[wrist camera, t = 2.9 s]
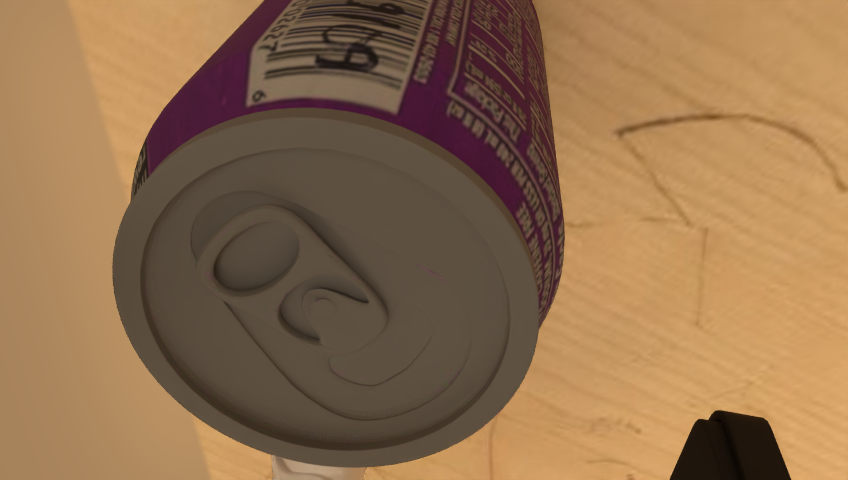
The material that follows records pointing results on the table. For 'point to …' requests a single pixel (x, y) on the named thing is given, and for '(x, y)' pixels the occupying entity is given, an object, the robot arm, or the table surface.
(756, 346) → the table surface
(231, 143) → the beverage can
